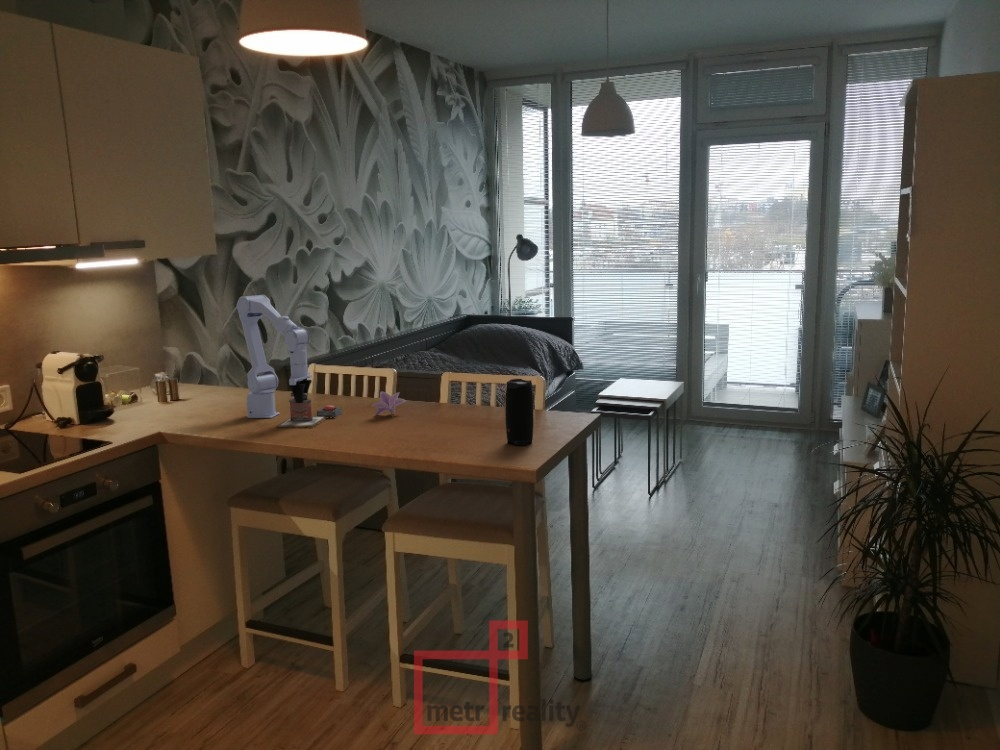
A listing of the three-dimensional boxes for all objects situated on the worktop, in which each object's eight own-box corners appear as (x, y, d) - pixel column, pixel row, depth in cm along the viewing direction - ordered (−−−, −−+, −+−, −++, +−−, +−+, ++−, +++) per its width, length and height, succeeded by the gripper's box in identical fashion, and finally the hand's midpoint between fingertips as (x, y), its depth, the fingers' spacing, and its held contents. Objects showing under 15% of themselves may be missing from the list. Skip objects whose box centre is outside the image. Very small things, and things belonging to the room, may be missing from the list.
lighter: (314, 419, 277) (312, 391, 275) (310, 421, 274) (308, 393, 272) (293, 418, 279) (290, 391, 277) (288, 421, 276) (286, 393, 274)
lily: (412, 416, 287) (404, 392, 290) (405, 411, 276) (397, 385, 278) (381, 427, 287) (373, 403, 290) (373, 422, 276) (365, 396, 278)
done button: (322, 411, 285) (322, 407, 284) (326, 409, 288) (325, 405, 288) (332, 411, 284) (332, 407, 284) (335, 409, 288) (335, 405, 287)
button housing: (317, 417, 283) (316, 411, 283) (323, 413, 290) (323, 407, 290) (335, 418, 283) (335, 411, 282) (341, 413, 289) (341, 407, 289)
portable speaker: (510, 447, 238) (508, 384, 234) (503, 440, 247) (501, 378, 243) (537, 445, 240) (536, 382, 236) (529, 438, 249) (528, 377, 245)
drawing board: (276, 427, 270) (276, 425, 270) (293, 417, 285) (292, 415, 284) (312, 427, 268) (312, 425, 268) (327, 418, 283) (327, 415, 283)
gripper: (302, 366, 265) (304, 406, 268) (317, 360, 279) (319, 397, 282) (282, 366, 266) (285, 406, 268) (298, 360, 280) (300, 397, 283)
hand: (301, 401), depth 275 cm, fingers closed on lighter, 3 cm apart
